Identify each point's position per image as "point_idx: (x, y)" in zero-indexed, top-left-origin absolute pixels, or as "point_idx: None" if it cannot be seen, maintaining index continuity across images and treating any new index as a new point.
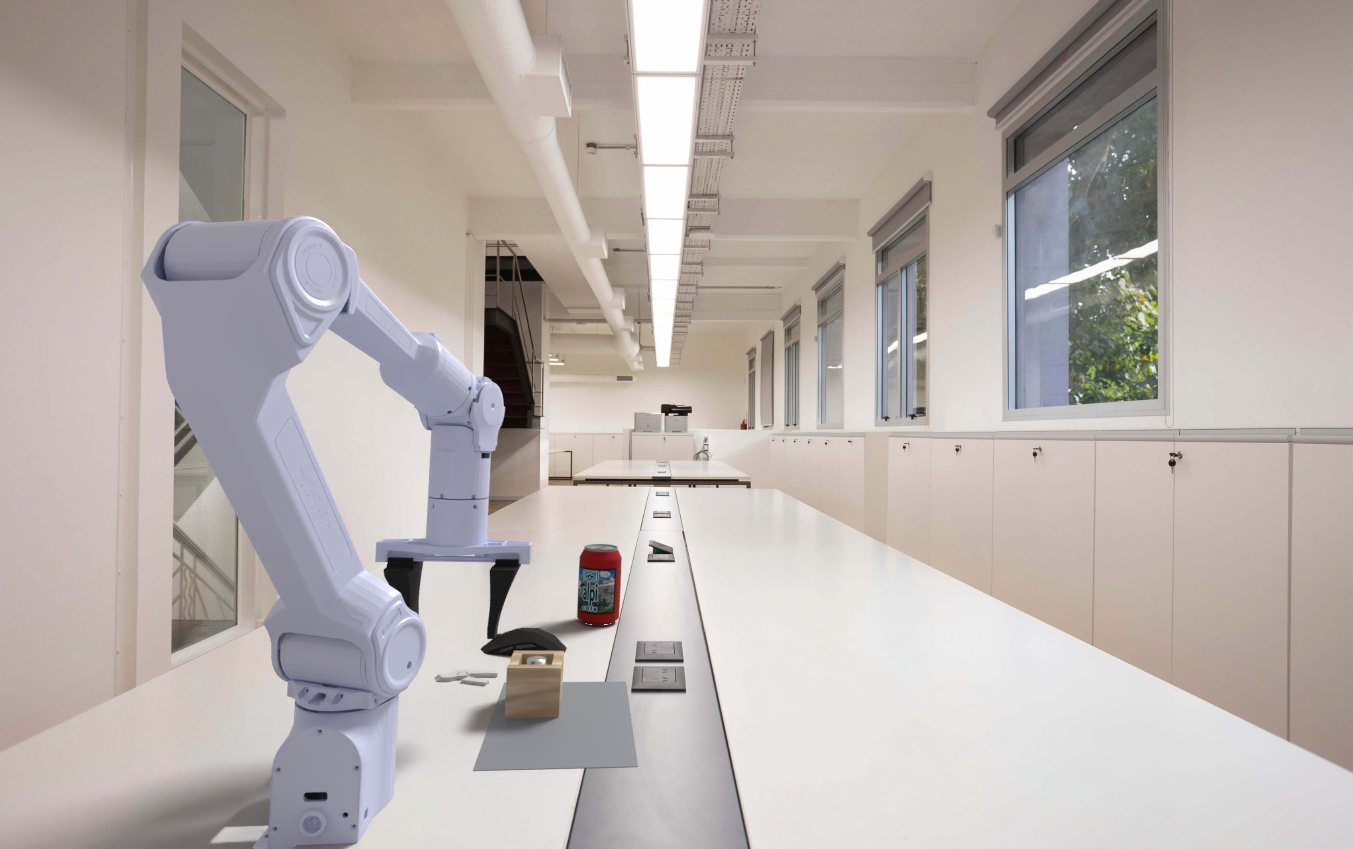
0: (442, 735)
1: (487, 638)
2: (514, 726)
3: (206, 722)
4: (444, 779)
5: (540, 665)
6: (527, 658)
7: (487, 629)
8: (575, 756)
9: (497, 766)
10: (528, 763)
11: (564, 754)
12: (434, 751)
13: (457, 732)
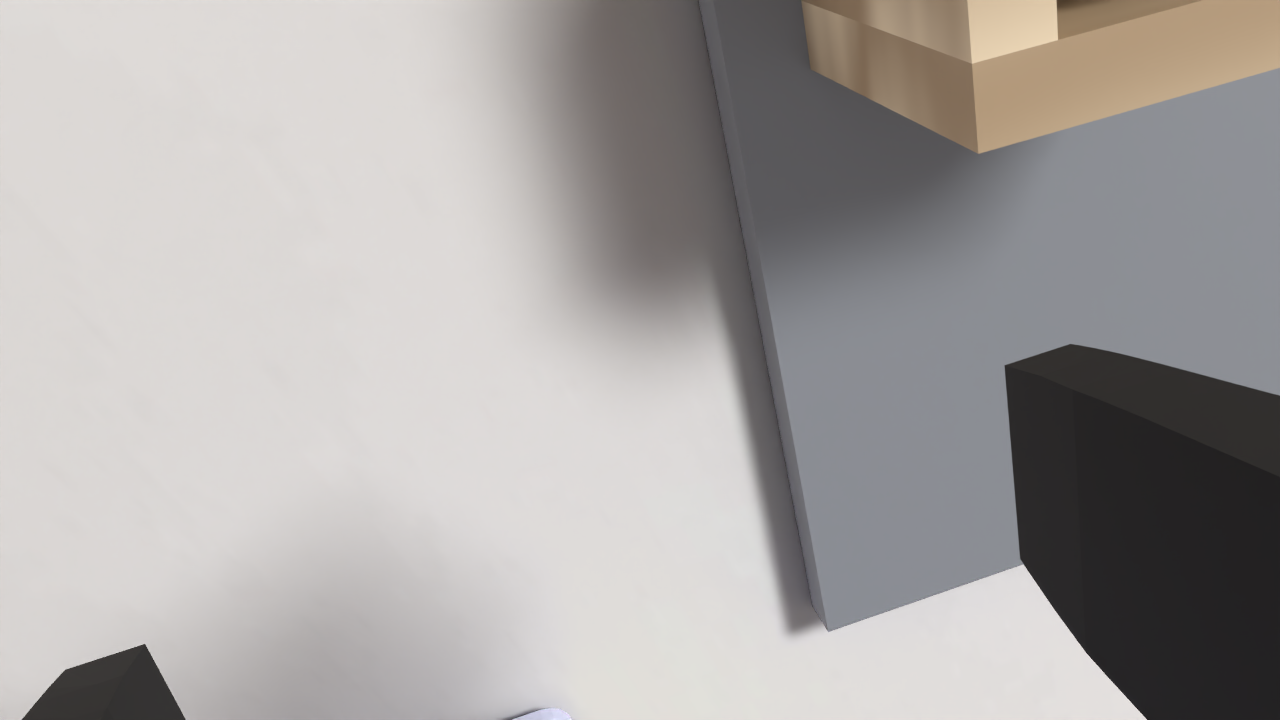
0: (470, 269)
1: (1026, 561)
2: (901, 175)
3: None
4: (693, 634)
5: (1244, 10)
6: None
7: (1087, 646)
8: None
9: (921, 576)
10: None
11: None
12: (524, 444)
13: (540, 210)
